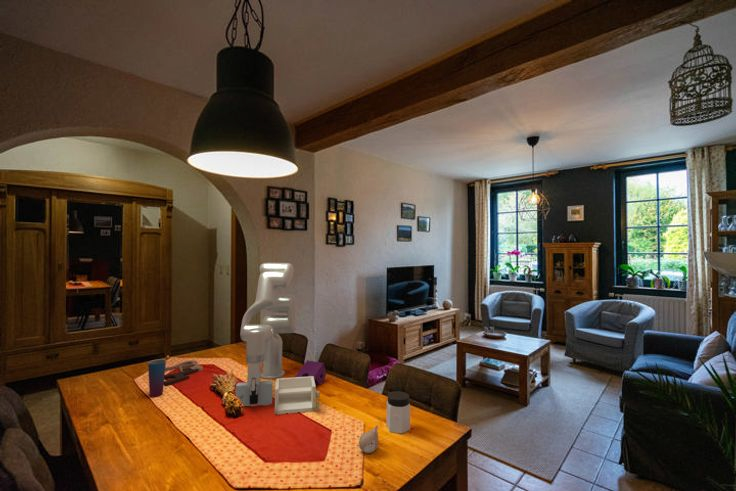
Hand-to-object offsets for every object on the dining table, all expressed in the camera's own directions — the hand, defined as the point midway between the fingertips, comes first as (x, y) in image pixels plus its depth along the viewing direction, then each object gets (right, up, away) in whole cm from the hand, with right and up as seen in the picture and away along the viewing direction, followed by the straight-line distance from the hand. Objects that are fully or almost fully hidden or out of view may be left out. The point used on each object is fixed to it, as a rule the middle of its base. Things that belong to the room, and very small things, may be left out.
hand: (254, 400), depth 144 cm
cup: (-47, -1, +8) cm, 47 cm away
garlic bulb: (+49, -2, -33) cm, 59 cm away
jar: (+60, -2, -18) cm, 62 cm away
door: (0, -2, 0) cm, 2 cm away
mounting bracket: (+19, -3, +21) cm, 28 cm away
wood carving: (-51, -3, +36) cm, 63 cm away
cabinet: (+19, -2, -2) cm, 19 cm away
